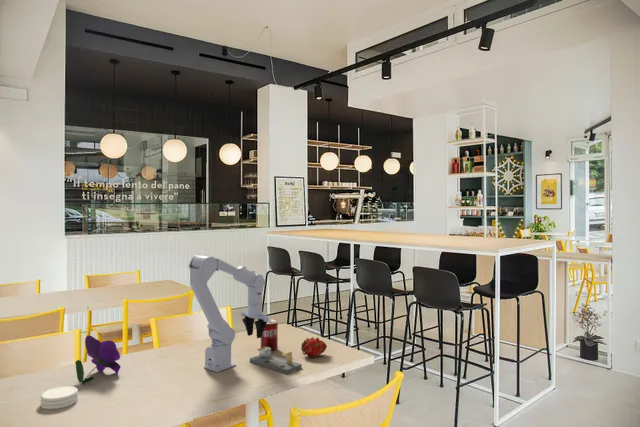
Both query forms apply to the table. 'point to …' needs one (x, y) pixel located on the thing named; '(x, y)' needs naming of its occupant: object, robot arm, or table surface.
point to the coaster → (59, 397)
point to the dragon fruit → (313, 347)
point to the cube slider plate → (277, 363)
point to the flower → (99, 357)
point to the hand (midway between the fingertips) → (254, 336)
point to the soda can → (270, 335)
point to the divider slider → (264, 352)
